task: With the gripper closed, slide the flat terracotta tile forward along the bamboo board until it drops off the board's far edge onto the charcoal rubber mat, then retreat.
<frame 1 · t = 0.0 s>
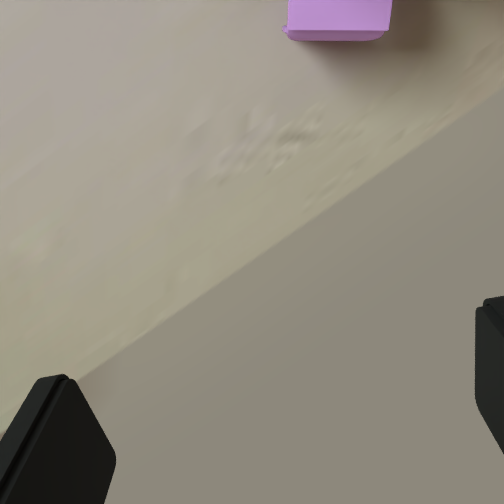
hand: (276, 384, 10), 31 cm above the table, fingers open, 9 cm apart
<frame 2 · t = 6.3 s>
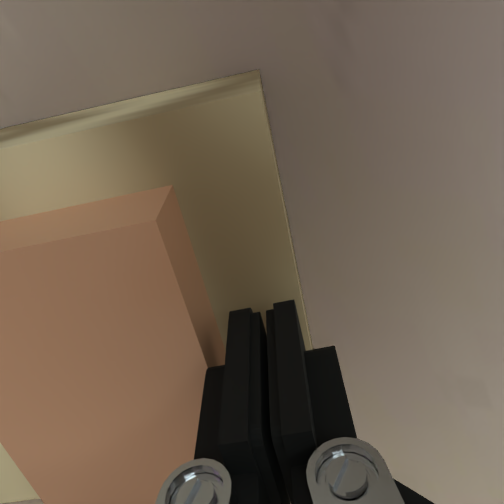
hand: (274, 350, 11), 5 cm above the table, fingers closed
tile: (119, 351, 13), point 4 cm above the table, touching board, gripper
board: (80, 288, 17), on the table
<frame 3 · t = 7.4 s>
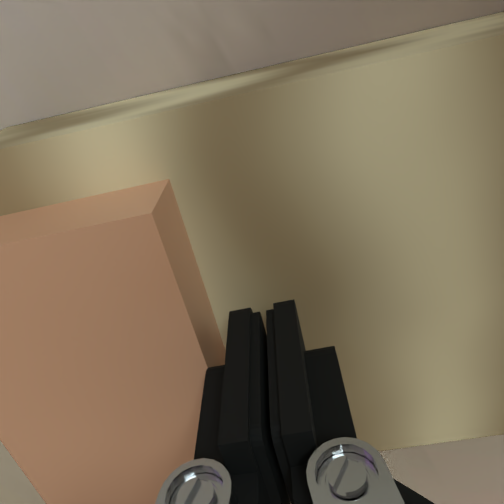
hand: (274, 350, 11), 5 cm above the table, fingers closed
tile: (117, 347, 13), point 4 cm above the table, touching board, gripper
board: (294, 247, 16), on the table
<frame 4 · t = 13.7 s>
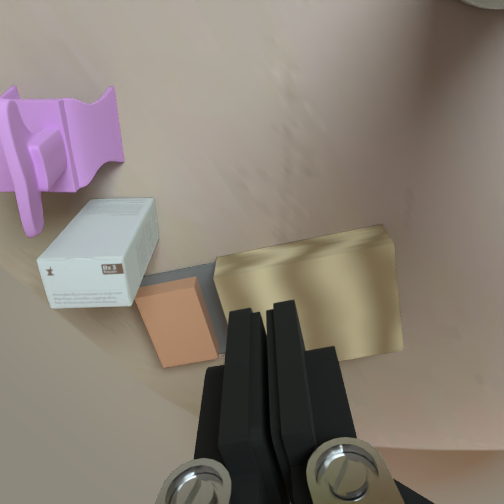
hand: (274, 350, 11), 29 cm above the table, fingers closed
tile: (177, 329, 45), point 2 cm above the table, tilted 180°, touching mat
skincare box: (127, 215, 42), on the table
mat: (190, 314, 47), on the table
purple flanged fixture: (68, 124, 38), on the table
board: (308, 292, 45), on the table
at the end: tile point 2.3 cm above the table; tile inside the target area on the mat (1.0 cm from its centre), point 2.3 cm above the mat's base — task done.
